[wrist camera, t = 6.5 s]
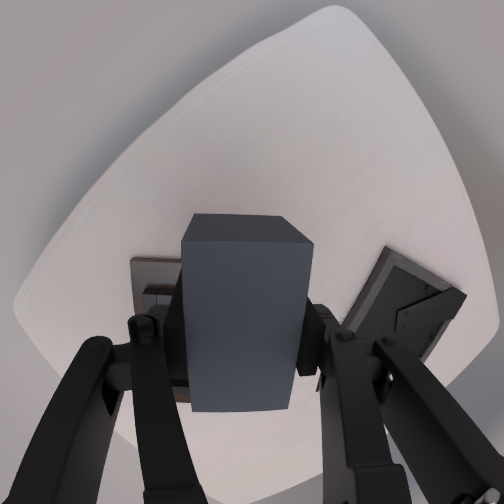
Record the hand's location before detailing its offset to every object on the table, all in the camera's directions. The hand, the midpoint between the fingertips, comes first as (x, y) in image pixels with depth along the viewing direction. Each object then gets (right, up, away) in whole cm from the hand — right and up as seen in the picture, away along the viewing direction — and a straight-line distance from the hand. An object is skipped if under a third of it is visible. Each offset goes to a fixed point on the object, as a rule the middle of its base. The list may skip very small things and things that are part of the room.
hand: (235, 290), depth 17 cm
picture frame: (+22, -6, +18) cm, 29 cm away
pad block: (0, 0, 0) cm, 0 cm away
